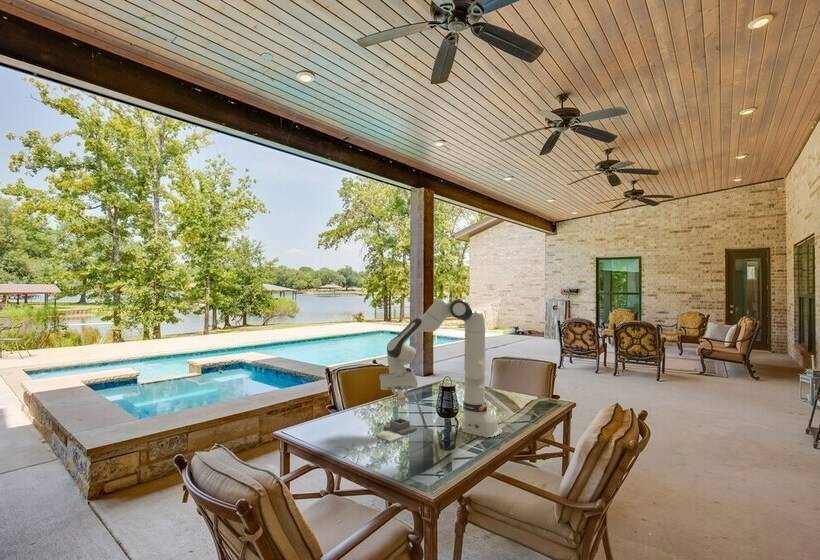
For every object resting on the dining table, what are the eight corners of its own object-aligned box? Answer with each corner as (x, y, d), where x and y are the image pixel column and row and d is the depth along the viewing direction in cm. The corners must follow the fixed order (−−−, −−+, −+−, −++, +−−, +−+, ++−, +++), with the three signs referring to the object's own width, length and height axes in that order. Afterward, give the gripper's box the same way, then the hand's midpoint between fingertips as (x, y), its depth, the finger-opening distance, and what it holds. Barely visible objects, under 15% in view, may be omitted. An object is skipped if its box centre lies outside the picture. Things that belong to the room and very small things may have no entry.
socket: (416, 430, 213) (416, 422, 213) (401, 435, 205) (401, 426, 205) (398, 423, 223) (398, 415, 223) (383, 428, 215) (383, 420, 215)
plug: (406, 404, 214) (406, 387, 214) (400, 405, 211) (400, 388, 211) (400, 402, 217) (400, 385, 217) (394, 404, 214) (394, 387, 214)
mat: (403, 437, 202) (403, 436, 202) (390, 442, 196) (390, 440, 196) (388, 431, 210) (389, 430, 210) (375, 436, 204) (375, 434, 204)
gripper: (379, 370, 218) (382, 393, 209) (415, 369, 223) (420, 391, 214) (378, 377, 223) (380, 399, 213) (413, 375, 228) (418, 397, 218)
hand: (400, 395), depth 213 cm, fingers closed on plug, 4 cm apart
